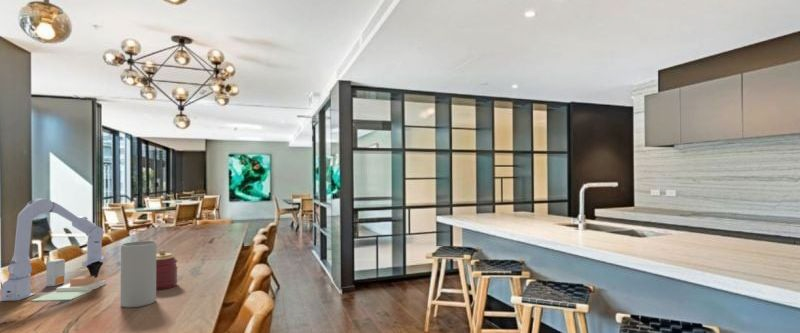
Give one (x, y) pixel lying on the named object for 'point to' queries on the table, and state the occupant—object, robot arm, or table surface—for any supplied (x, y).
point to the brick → (82, 280)
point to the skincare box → (55, 272)
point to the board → (81, 287)
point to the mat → (61, 296)
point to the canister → (165, 270)
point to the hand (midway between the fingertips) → (94, 277)
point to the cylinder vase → (138, 273)
